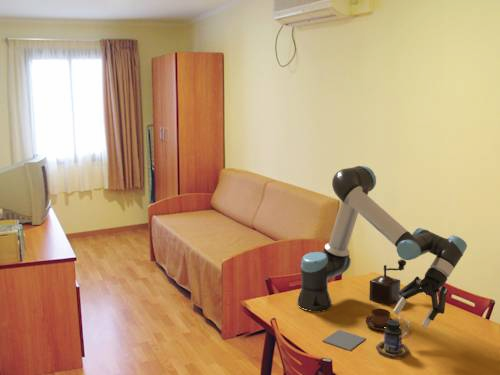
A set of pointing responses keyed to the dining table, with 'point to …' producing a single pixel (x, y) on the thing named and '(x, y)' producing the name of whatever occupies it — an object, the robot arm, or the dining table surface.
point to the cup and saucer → (378, 319)
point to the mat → (344, 340)
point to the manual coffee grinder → (386, 287)
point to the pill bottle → (393, 337)
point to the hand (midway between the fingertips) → (409, 319)
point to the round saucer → (392, 354)
